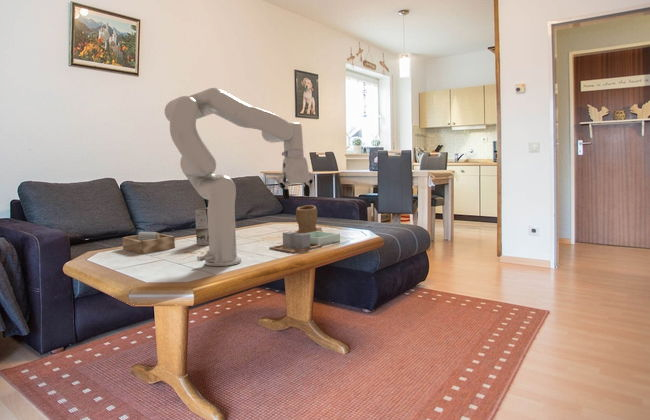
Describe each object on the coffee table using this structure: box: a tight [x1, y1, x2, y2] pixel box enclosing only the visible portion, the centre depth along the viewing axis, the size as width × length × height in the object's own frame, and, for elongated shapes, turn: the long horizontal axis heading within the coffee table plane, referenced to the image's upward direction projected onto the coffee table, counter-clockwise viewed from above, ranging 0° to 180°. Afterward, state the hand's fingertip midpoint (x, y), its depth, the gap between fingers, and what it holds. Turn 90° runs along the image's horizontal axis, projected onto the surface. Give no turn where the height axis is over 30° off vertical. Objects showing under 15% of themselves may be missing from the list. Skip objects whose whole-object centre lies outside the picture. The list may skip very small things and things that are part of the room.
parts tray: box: [268, 243, 323, 254], centre depth 179 cm, size 16×14×2 cm
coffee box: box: [194, 206, 209, 246], centre depth 197 cm, size 9×6×16 cm
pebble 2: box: [295, 233, 310, 250], centre depth 176 cm, size 4×4×6 cm
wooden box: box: [121, 232, 176, 255], centre depth 189 cm, size 15×17×5 cm
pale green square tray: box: [306, 231, 341, 246], centre depth 192 cm, size 14×14×4 cm
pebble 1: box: [282, 231, 298, 248], centre depth 181 cm, size 4×4×6 cm
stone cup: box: [294, 204, 324, 234], centre depth 212 cm, size 15×12×15 cm
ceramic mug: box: [137, 231, 160, 241], centre depth 189 cm, size 11×8×8 cm
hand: (296, 197), depth 175 cm, fingers open, 9 cm apart
